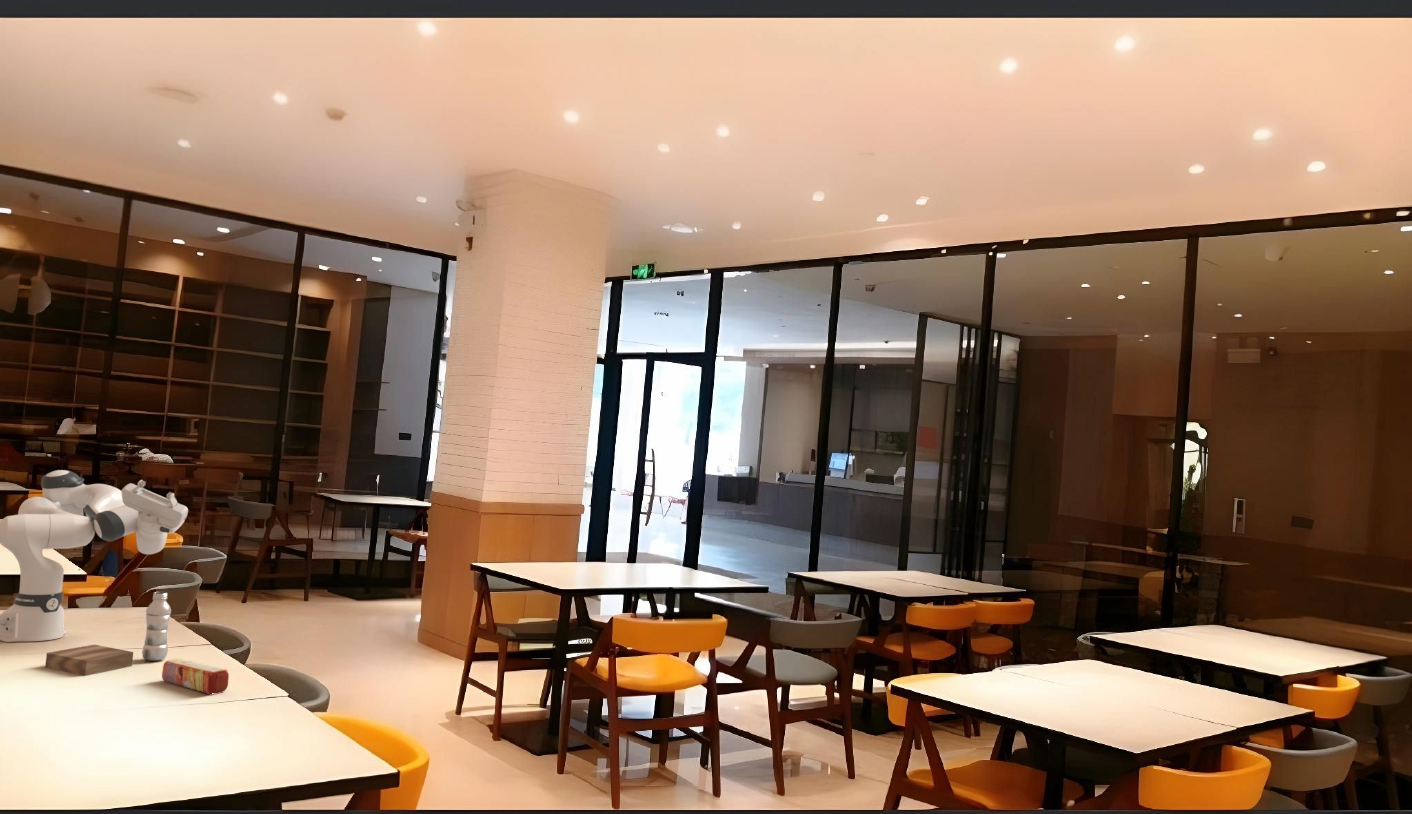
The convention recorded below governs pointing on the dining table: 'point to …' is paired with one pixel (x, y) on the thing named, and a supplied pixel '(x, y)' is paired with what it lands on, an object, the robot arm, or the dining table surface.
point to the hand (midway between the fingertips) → (156, 487)
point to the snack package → (195, 675)
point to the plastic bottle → (157, 628)
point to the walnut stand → (89, 659)
